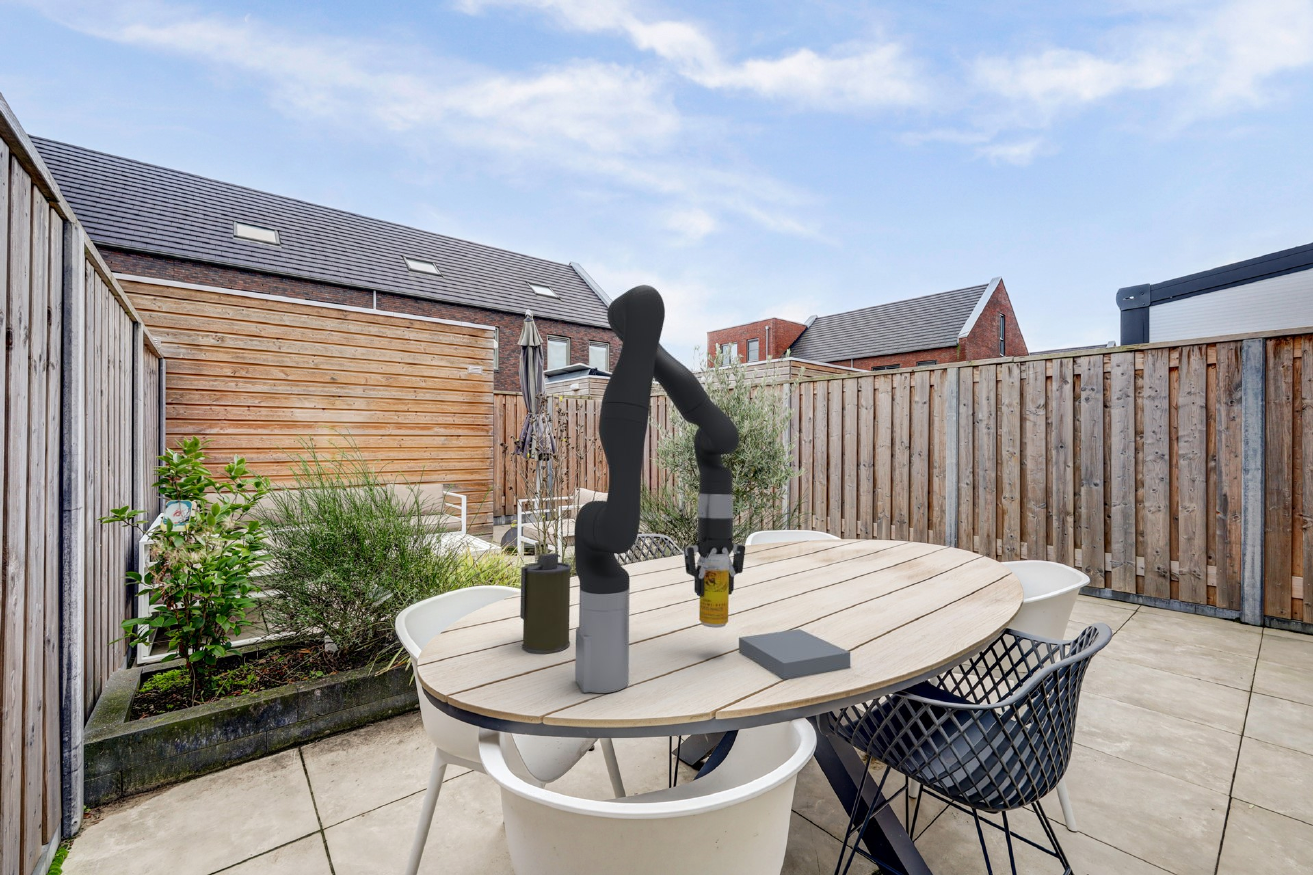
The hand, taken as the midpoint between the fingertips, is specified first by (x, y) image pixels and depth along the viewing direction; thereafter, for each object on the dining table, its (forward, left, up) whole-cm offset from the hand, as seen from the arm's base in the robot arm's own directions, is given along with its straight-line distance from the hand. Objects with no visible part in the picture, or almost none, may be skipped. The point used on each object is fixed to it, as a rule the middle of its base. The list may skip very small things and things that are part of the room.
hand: (714, 594), depth 112 cm
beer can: (0, 0, -6) cm, 6 cm away
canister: (-32, +19, -13) cm, 39 cm away
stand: (+14, -8, -13) cm, 21 cm away
